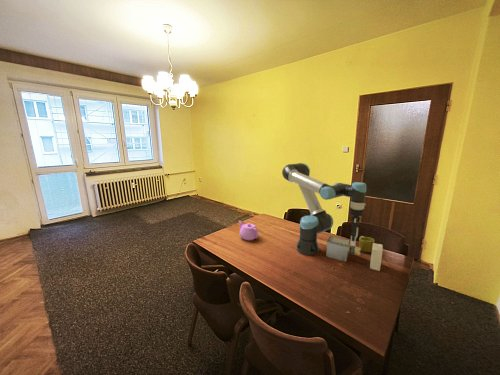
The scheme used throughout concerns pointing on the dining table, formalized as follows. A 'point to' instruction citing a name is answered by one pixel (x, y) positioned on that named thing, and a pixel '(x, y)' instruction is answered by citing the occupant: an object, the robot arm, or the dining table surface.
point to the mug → (366, 243)
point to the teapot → (248, 231)
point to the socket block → (376, 256)
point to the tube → (354, 250)
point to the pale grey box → (337, 248)
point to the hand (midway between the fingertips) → (353, 240)
